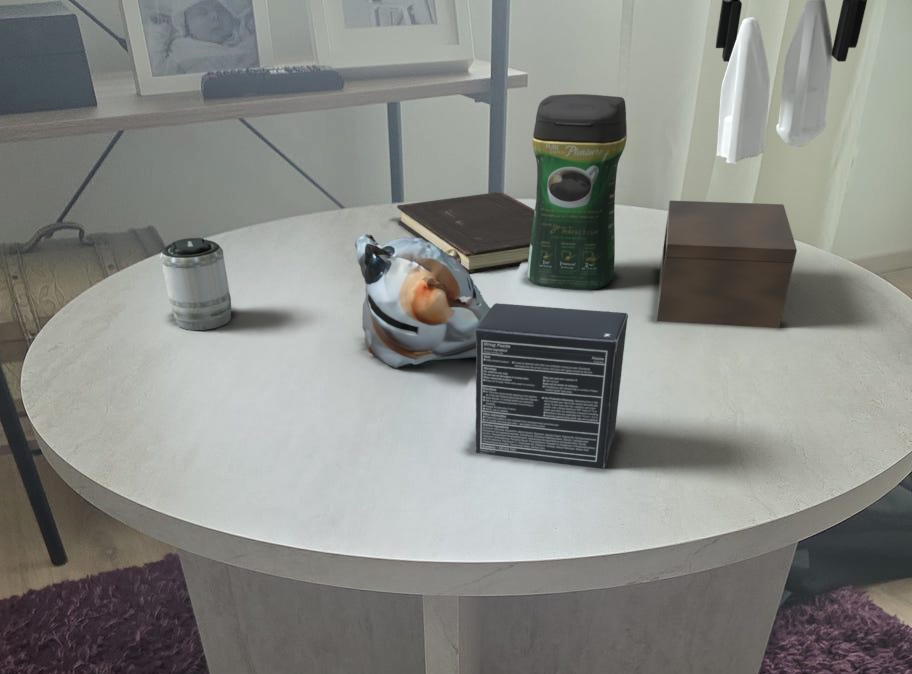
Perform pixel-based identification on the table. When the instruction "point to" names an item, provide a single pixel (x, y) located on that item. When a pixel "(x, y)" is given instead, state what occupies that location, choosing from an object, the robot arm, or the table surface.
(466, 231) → the hardcover book
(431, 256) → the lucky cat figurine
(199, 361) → the table surface
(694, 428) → the table surface
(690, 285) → the brown wooden box
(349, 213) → the table surface
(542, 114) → the coffee jar
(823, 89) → the shaker set
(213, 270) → the camera lens
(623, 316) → the small box
